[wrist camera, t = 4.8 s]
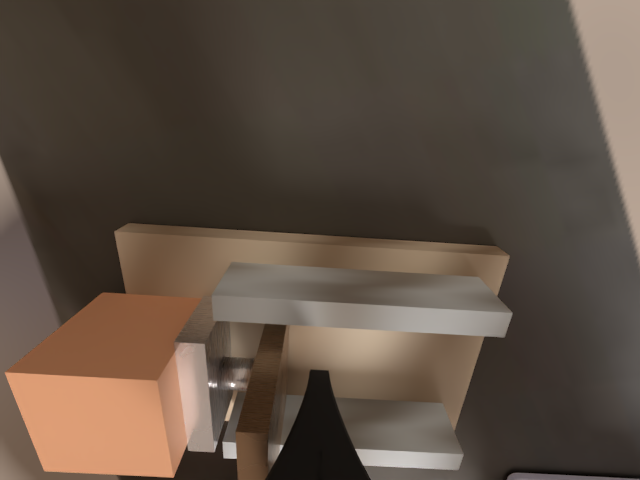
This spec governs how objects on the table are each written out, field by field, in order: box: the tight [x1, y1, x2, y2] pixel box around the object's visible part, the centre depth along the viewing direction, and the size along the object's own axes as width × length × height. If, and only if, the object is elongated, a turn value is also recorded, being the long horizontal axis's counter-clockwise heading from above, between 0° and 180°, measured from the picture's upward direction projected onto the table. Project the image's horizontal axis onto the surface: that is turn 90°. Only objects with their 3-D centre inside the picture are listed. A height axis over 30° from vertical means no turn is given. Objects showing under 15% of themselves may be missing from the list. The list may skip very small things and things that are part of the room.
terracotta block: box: [5, 292, 202, 478], centre depth 12 cm, size 4×4×4 cm
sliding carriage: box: [174, 296, 289, 480], centre depth 11 cm, size 4×5×6 cm
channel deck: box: [114, 223, 513, 470], centre depth 14 cm, size 16×10×4 cm, turn 86°
